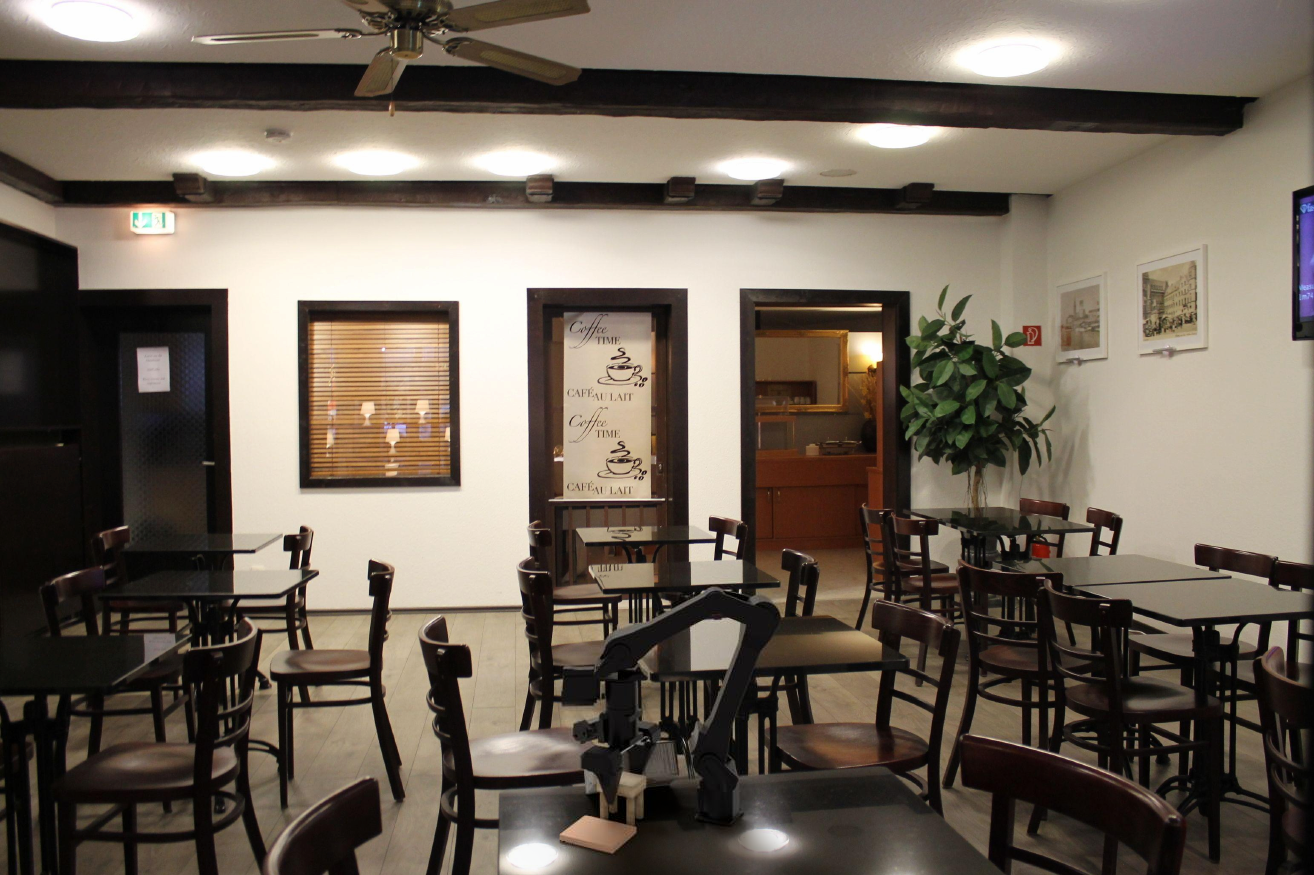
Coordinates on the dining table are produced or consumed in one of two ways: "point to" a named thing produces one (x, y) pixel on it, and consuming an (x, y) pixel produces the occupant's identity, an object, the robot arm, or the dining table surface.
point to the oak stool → (633, 792)
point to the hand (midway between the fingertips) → (622, 794)
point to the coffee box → (647, 767)
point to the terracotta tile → (598, 834)
